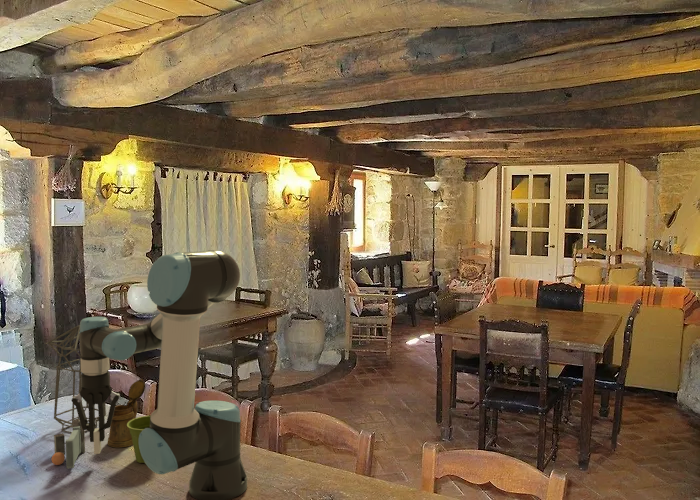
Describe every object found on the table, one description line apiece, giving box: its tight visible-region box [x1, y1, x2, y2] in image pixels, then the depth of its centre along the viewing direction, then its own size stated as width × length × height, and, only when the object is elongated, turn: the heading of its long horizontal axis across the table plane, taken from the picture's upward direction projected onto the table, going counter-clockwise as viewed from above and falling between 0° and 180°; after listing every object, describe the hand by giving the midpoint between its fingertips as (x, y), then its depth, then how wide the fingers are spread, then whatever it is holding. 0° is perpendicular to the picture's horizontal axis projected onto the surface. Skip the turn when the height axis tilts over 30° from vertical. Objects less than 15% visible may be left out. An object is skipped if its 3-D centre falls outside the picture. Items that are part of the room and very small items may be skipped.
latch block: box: [53, 433, 66, 456], centre depth 183 cm, size 2×2×6 cm
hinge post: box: [73, 418, 86, 456], centre depth 184 cm, size 3×3×10 cm
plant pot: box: [127, 415, 151, 465], centre depth 180 cm, size 12×12×11 cm
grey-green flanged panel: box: [65, 426, 81, 469], centre depth 177 cm, size 11×2×8 cm, turn 13°
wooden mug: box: [107, 378, 146, 449], centre depth 194 cm, size 9×14×18 cm, turn 155°
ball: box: [51, 452, 66, 466], centre depth 176 cm, size 4×4×4 cm
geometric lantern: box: [45, 324, 107, 434], centre depth 202 cm, size 16×16×35 cm
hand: (97, 451), depth 176 cm, fingers closed
